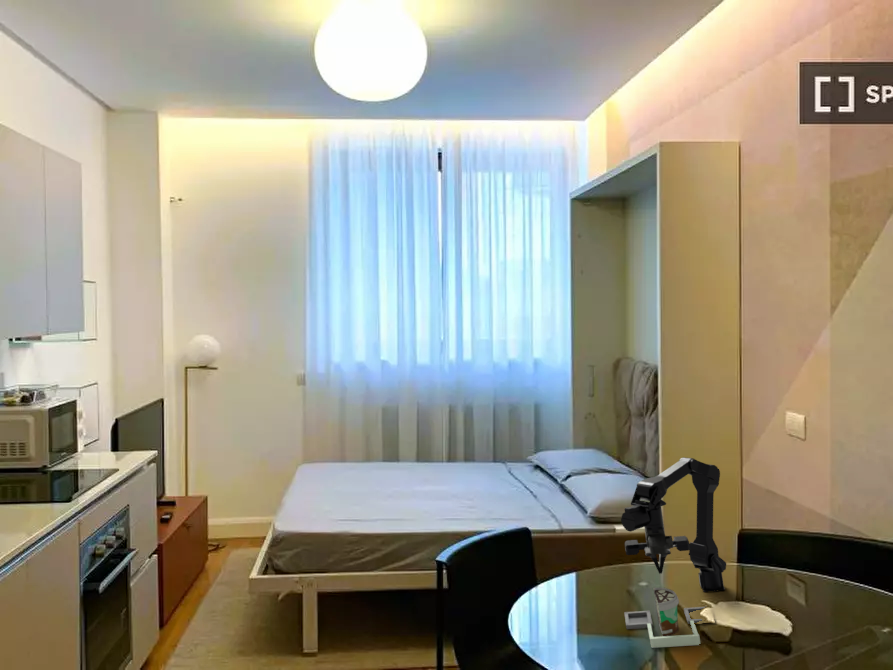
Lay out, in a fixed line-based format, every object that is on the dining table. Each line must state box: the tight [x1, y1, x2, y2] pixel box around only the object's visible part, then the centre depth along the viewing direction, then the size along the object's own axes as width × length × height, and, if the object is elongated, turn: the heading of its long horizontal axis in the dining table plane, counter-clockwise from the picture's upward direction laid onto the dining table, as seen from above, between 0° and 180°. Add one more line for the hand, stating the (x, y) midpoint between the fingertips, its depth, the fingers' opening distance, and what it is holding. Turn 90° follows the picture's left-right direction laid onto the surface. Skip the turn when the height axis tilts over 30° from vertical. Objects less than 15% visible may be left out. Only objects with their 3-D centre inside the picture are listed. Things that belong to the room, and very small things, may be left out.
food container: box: [653, 587, 680, 636], centre depth 215 cm, size 12×6×10 cm, turn 171°
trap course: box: [623, 606, 706, 649], centre depth 215 cm, size 25×22×2 cm
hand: (660, 573), depth 227 cm, fingers closed
